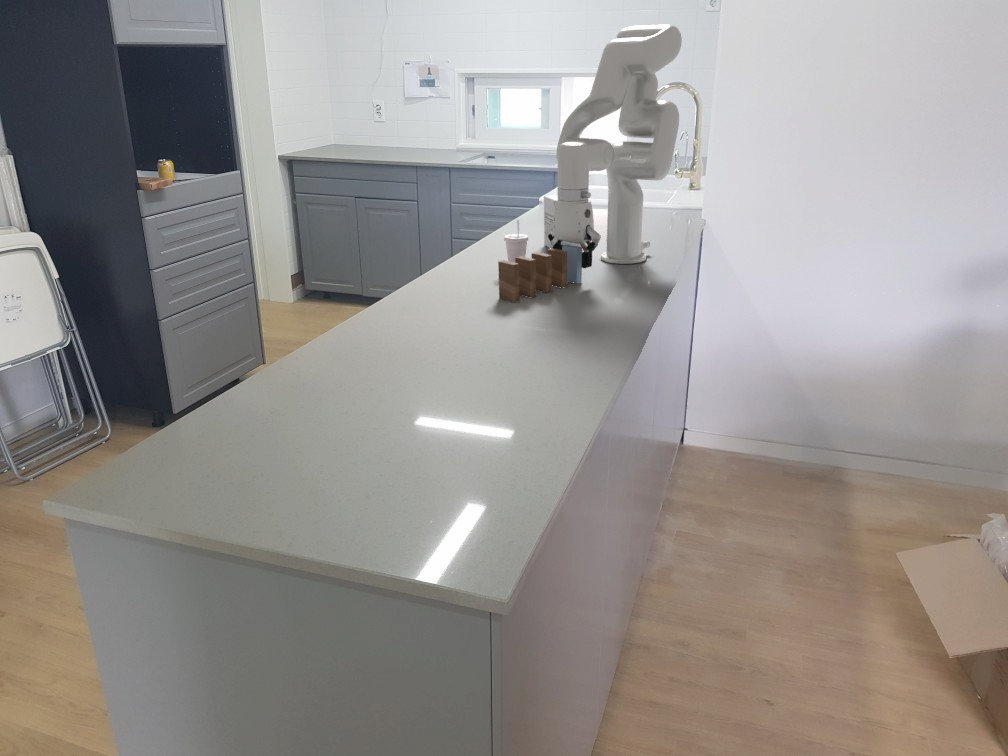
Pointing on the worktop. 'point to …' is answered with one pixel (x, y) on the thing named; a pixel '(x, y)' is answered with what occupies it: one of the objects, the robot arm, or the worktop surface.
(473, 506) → the worktop surface
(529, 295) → the tile
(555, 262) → the tile
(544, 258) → the tile
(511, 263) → the tile
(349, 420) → the worktop surface
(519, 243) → the smoothie
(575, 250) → the tile
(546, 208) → the supplement box
